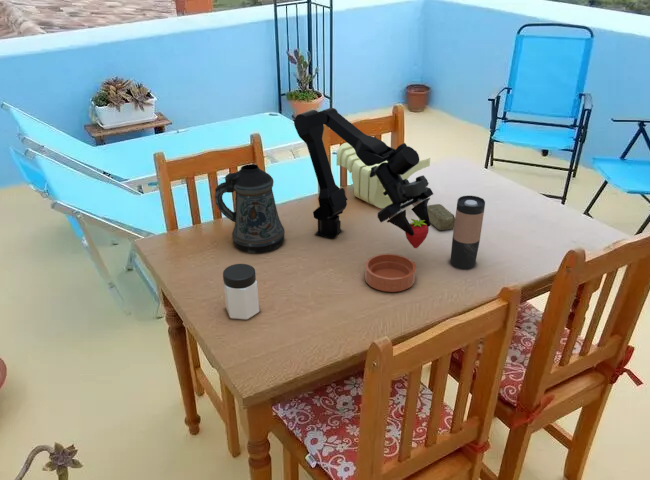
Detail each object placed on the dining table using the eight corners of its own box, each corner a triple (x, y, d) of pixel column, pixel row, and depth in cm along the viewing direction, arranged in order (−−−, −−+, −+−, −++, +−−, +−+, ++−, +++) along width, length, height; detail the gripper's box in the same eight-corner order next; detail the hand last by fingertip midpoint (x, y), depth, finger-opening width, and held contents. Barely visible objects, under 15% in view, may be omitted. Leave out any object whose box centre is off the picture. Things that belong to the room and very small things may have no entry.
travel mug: (477, 258, 174) (486, 197, 163) (474, 271, 168) (484, 208, 157) (451, 255, 176) (459, 193, 165) (447, 267, 170) (455, 204, 159)
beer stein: (295, 242, 184) (292, 167, 171) (243, 263, 174) (236, 184, 161) (265, 224, 195) (260, 152, 182) (214, 242, 185) (205, 168, 172)
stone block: (439, 232, 189) (441, 218, 186) (422, 218, 198) (423, 204, 195) (455, 229, 190) (457, 215, 188) (437, 215, 199) (439, 201, 197)
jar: (244, 297, 158) (240, 259, 152) (265, 308, 154) (263, 269, 147) (219, 312, 152) (214, 273, 146) (241, 324, 148) (237, 284, 142)
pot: (356, 286, 162) (357, 271, 160) (375, 263, 173) (376, 249, 170) (404, 298, 157) (405, 283, 154) (421, 273, 167) (422, 259, 165)
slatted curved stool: (336, 191, 217) (336, 145, 208) (368, 181, 226) (369, 135, 216) (393, 219, 197) (396, 169, 188) (425, 206, 205) (430, 157, 196)
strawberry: (398, 249, 166) (401, 217, 160) (414, 239, 170) (417, 208, 165) (416, 256, 162) (419, 224, 157) (431, 246, 167) (435, 215, 162)
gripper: (388, 178, 151) (419, 230, 150) (431, 159, 162) (460, 208, 161) (364, 197, 160) (393, 246, 159) (406, 178, 171) (433, 224, 170)
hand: (421, 230), depth 162 cm, fingers closed on strawberry, 7 cm apart
